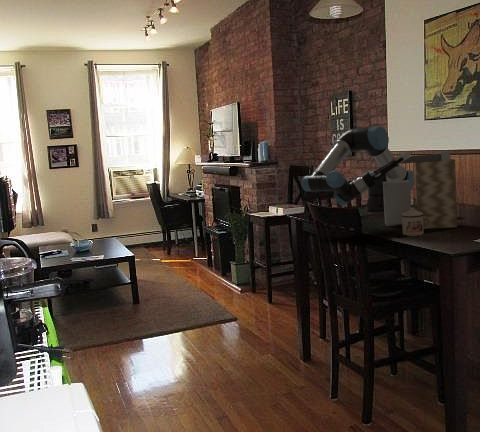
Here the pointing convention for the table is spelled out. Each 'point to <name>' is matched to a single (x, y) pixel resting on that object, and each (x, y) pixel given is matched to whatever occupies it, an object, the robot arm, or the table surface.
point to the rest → (396, 201)
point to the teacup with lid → (413, 222)
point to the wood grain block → (437, 193)
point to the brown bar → (428, 157)
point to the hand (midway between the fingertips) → (408, 153)
